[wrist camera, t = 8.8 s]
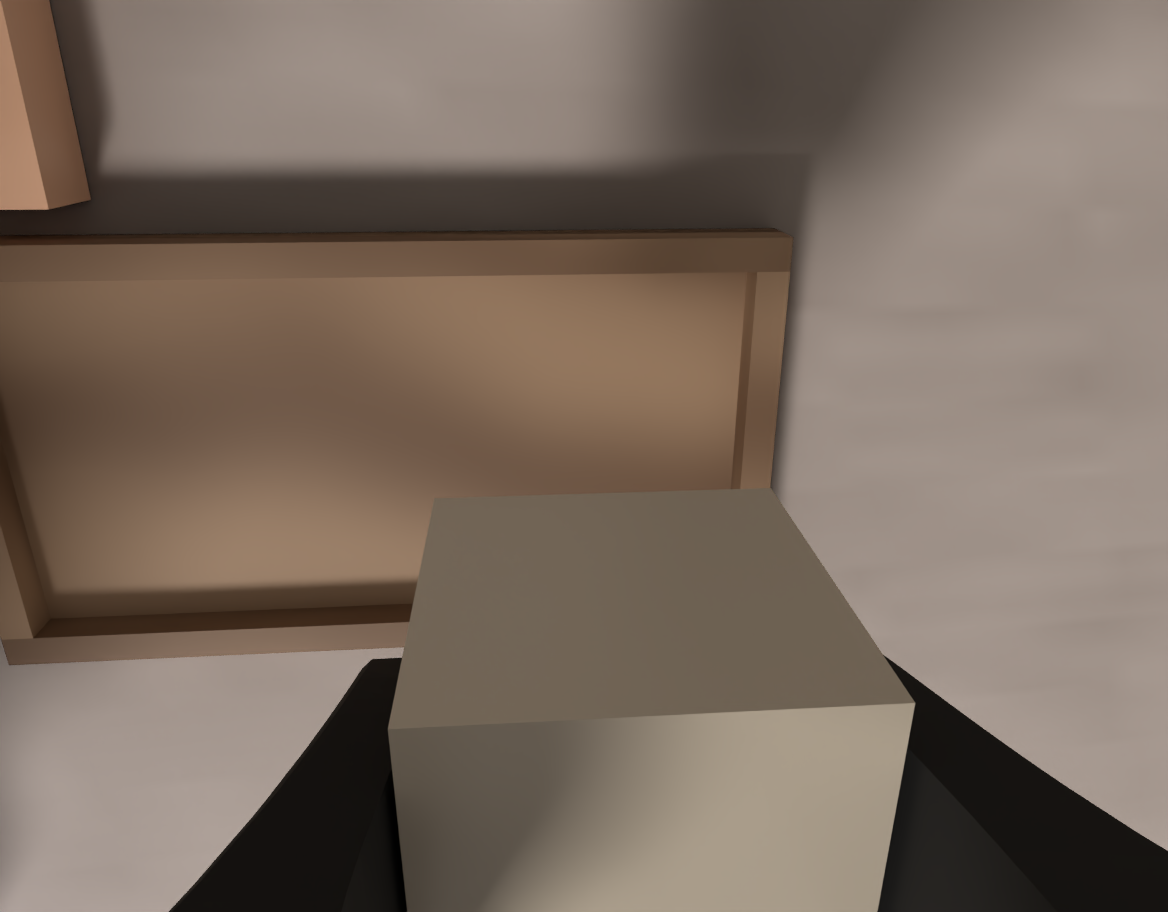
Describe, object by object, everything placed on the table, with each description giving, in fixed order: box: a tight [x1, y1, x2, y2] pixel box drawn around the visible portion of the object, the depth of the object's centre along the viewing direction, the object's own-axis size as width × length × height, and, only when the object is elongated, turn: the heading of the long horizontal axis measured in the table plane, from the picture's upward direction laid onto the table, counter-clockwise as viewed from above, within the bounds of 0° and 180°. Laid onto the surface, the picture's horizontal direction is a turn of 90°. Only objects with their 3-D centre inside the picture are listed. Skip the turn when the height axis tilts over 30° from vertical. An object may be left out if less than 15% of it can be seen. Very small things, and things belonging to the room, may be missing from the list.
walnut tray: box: [0, 228, 793, 665], centre depth 17 cm, size 8×15×1 cm, turn 90°
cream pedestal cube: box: [388, 488, 915, 912], centre depth 9 cm, size 4×4×4 cm
